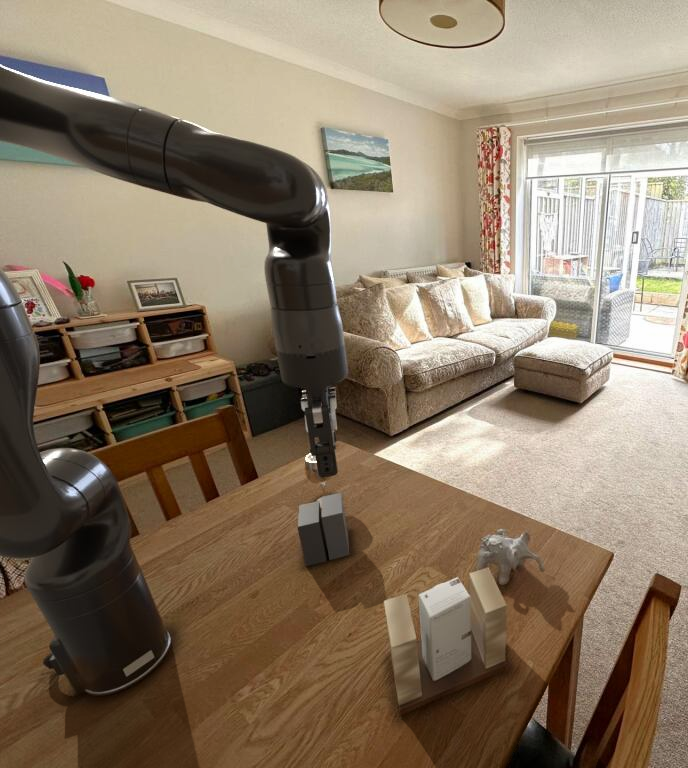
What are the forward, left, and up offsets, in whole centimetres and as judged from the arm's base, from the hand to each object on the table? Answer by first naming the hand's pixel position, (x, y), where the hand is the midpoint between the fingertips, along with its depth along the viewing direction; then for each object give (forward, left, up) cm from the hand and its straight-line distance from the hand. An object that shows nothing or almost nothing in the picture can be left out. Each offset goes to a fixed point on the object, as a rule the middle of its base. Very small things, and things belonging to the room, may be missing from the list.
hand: (328, 457), depth 54 cm
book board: (+12, -14, -30) cm, 35 cm away
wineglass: (-4, +32, -30) cm, 44 cm away
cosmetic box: (+12, -13, -29) cm, 34 cm away
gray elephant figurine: (+27, -2, -30) cm, 40 cm away
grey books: (-4, +17, -30) cm, 34 cm away
